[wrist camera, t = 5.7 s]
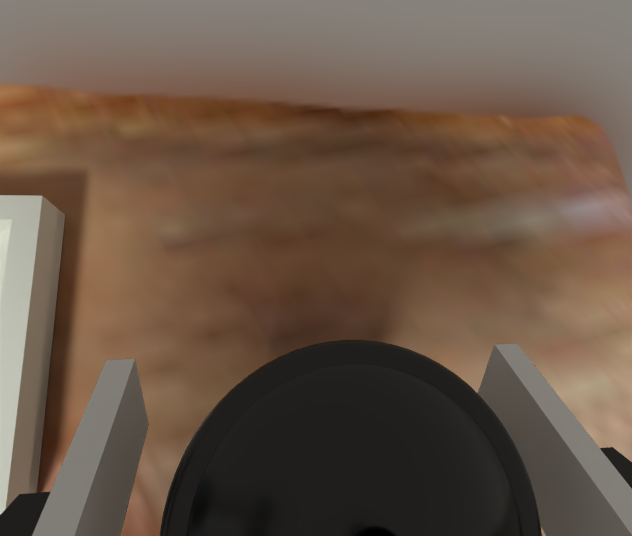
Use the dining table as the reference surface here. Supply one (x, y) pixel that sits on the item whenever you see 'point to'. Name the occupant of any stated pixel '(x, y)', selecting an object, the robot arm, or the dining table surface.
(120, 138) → the dining table surface
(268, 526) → the drinking cup
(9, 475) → the tray
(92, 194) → the dining table surface
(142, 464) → the dining table surface
